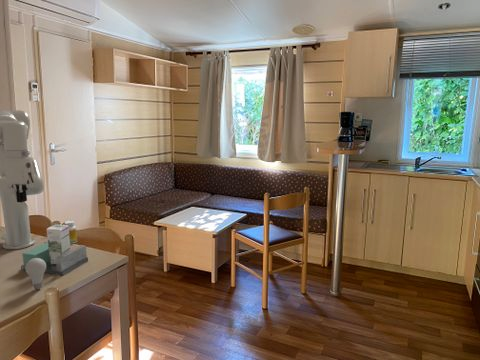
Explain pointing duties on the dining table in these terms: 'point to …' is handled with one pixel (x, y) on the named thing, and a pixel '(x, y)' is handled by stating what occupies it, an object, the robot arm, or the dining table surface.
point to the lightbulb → (36, 271)
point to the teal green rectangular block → (37, 254)
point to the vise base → (54, 268)
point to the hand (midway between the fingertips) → (22, 201)
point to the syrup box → (58, 241)
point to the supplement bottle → (72, 231)
